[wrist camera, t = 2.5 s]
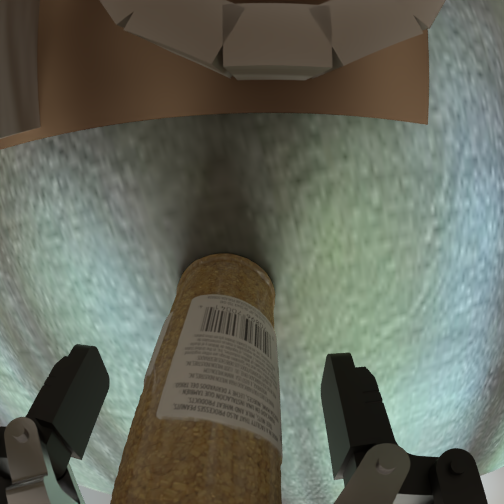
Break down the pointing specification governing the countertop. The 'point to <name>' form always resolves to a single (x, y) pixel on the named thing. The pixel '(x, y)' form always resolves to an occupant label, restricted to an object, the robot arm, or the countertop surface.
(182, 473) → the sprinkles bottle
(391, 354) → the countertop surface
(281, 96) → the socket holder
